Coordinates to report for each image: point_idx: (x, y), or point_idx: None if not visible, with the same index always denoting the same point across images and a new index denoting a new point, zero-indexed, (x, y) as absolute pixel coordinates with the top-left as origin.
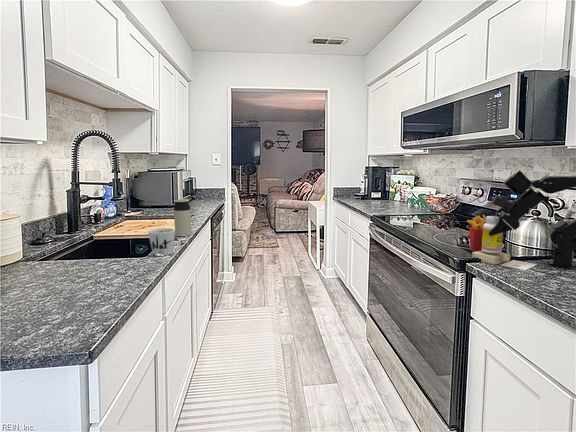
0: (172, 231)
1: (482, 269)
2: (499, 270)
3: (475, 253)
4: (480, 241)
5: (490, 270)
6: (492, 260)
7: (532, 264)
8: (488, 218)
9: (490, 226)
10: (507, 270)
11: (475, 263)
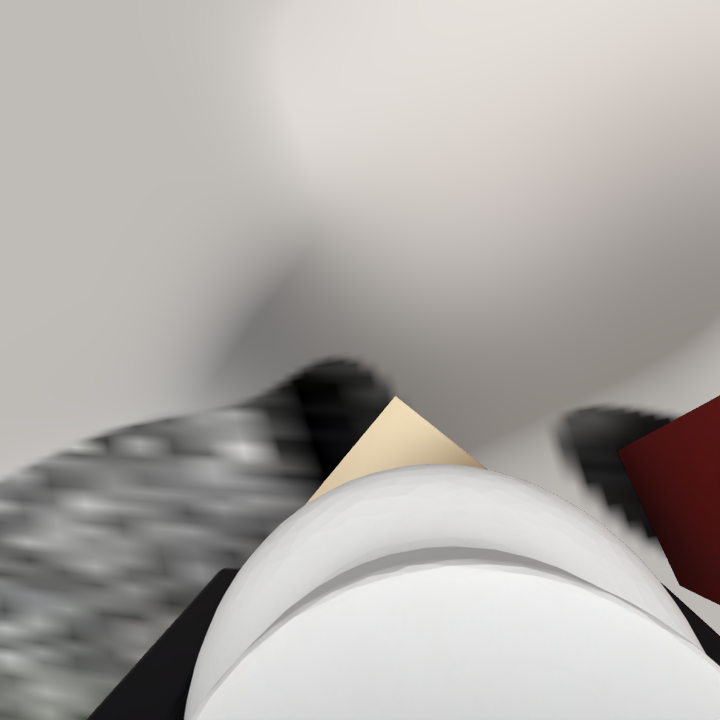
0: None
1: (46, 479)
2: (34, 626)
3: (369, 427)
4: (707, 487)
5: (24, 544)
6: None
7: None
8: (272, 629)
9: (209, 641)
10: (44, 705)
11: (235, 433)
